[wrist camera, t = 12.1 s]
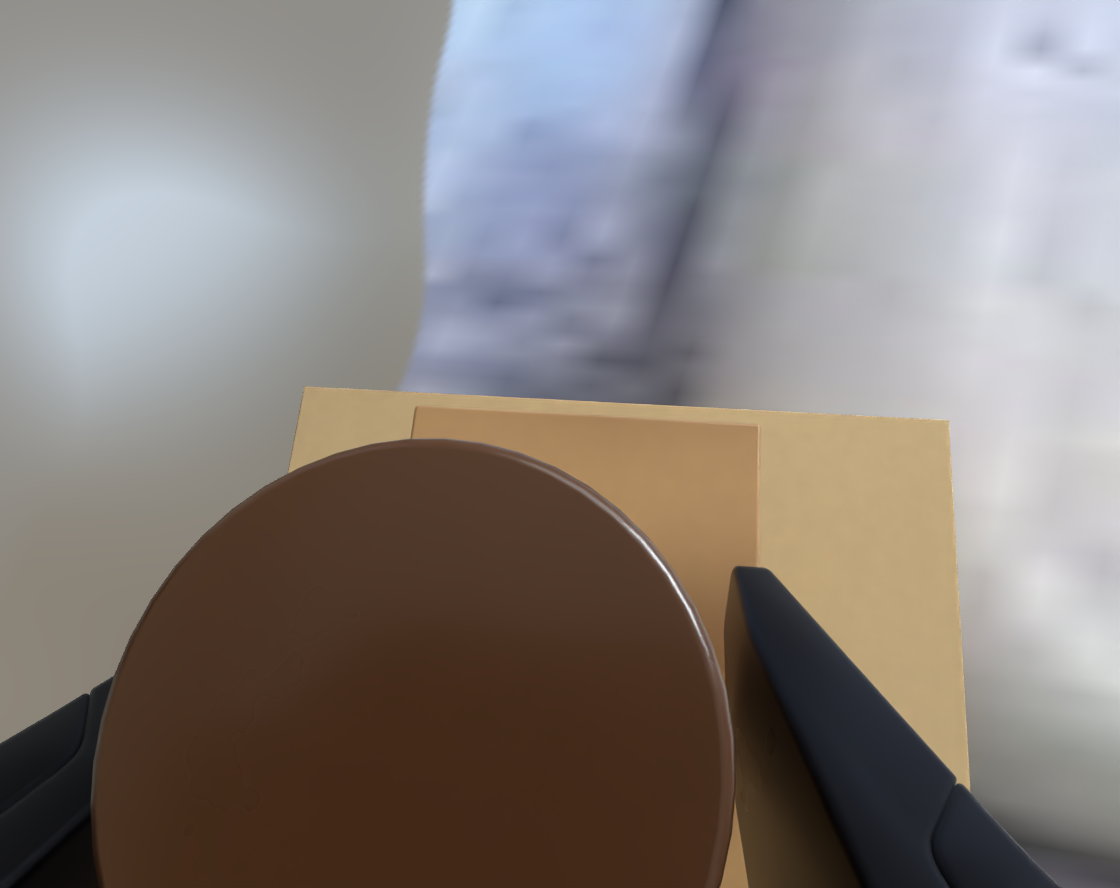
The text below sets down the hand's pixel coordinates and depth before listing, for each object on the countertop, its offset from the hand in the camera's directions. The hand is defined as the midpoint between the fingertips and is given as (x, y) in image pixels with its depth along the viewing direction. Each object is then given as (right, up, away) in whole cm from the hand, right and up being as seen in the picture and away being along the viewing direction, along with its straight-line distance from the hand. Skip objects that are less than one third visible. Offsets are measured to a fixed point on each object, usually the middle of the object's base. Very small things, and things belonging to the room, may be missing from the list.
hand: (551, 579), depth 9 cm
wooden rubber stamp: (0, -3, +5) cm, 6 cm away
